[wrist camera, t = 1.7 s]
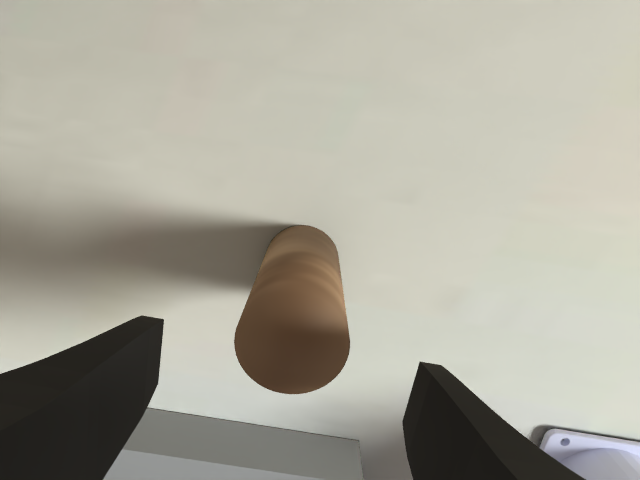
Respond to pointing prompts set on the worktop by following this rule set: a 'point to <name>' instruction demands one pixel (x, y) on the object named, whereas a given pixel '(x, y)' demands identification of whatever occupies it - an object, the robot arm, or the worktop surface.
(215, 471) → the socket block
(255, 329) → the dowel
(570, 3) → the worktop surface
